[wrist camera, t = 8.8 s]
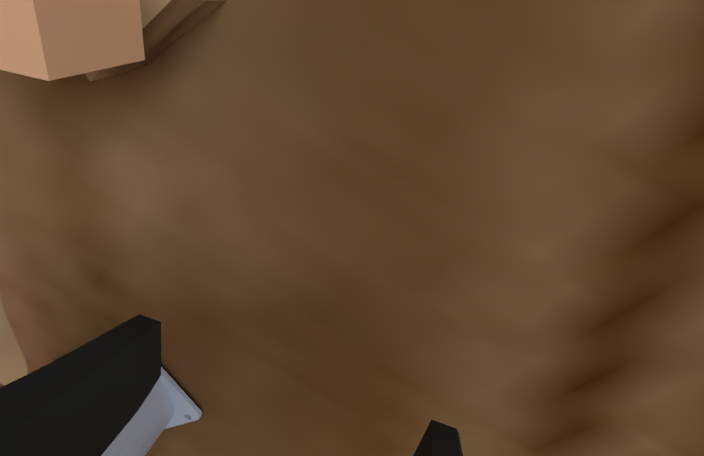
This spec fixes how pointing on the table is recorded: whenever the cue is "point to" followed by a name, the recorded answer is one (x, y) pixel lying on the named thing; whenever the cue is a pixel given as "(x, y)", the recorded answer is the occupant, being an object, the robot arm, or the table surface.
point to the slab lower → (181, 28)
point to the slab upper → (152, 28)
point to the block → (68, 36)
